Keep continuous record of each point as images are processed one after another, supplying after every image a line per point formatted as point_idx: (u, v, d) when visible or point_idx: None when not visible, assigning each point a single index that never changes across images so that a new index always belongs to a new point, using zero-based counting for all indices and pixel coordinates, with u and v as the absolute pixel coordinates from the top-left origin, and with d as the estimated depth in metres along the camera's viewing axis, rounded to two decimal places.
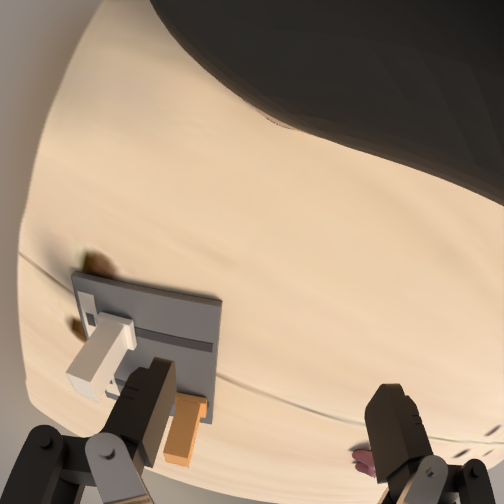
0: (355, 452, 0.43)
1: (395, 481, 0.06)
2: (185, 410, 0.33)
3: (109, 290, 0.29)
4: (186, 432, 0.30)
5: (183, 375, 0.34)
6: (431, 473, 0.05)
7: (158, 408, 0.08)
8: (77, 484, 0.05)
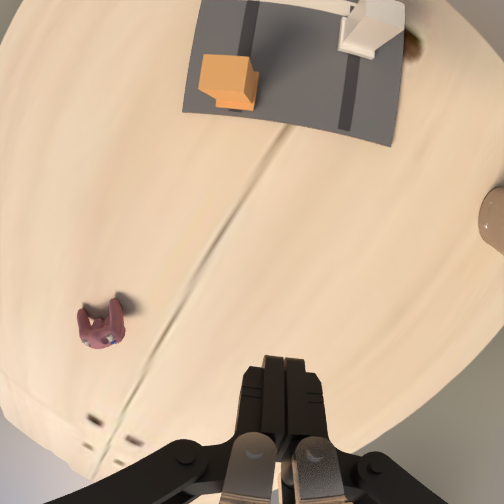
0: (117, 301, 0.40)
1: (284, 460, 0.07)
2: (253, 86, 0.25)
3: (397, 49, 0.24)
4: (248, 89, 0.22)
5: (293, 88, 0.27)
6: (309, 455, 0.06)
7: None
8: (188, 497, 0.06)
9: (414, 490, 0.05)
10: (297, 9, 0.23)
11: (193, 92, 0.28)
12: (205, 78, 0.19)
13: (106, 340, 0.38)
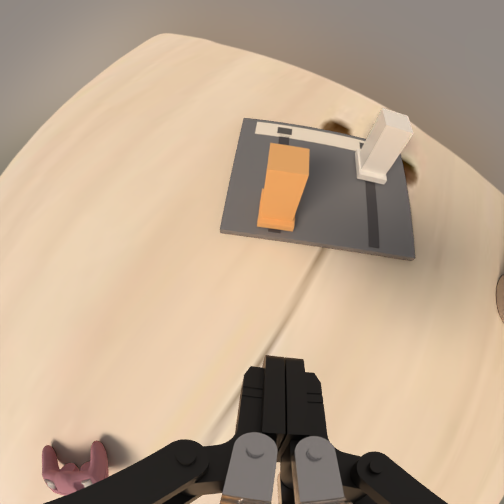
0: (102, 445, 0.23)
1: (283, 460, 0.07)
2: None
3: (400, 174, 0.36)
4: None
5: (325, 212, 0.33)
6: (309, 455, 0.06)
7: None
8: (188, 498, 0.06)
9: (413, 490, 0.05)
10: (320, 146, 0.37)
11: (232, 211, 0.33)
12: (273, 161, 0.23)
13: (81, 487, 0.17)
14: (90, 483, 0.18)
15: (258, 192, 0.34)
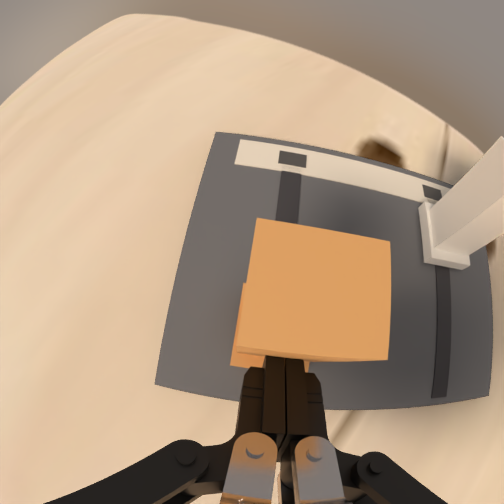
0: None
1: (283, 460, 0.07)
2: None
3: None
4: None
5: None
6: (309, 455, 0.06)
7: None
8: (188, 498, 0.06)
9: (413, 491, 0.05)
10: (359, 192, 0.19)
11: (178, 347, 0.15)
12: (264, 306, 0.06)
13: None
14: None
15: (233, 304, 0.16)
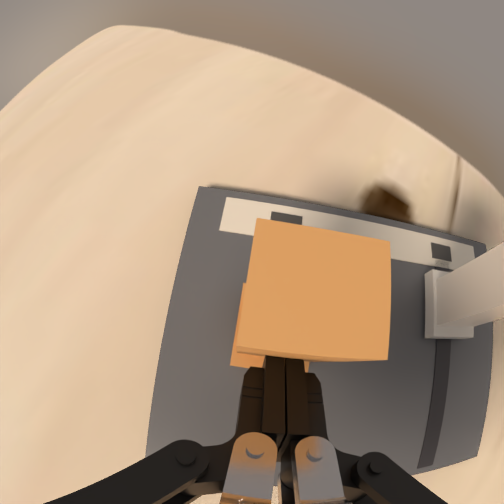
0: None
1: (283, 460, 0.07)
2: None
3: None
4: None
5: (355, 428, 0.14)
6: (309, 455, 0.06)
7: None
8: (188, 498, 0.06)
9: (413, 491, 0.05)
10: None
11: (165, 433, 0.13)
12: (264, 306, 0.06)
13: None
14: None
15: (218, 395, 0.14)
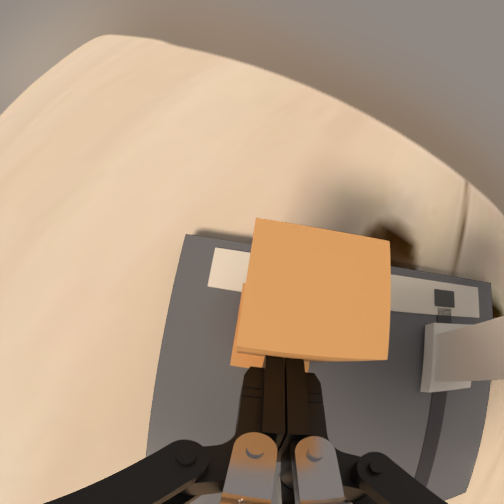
0: None
1: (283, 460, 0.07)
2: None
3: None
4: None
5: None
6: (309, 455, 0.06)
7: None
8: (188, 498, 0.06)
9: (413, 491, 0.05)
10: None
11: None
12: (263, 307, 0.06)
13: None
14: None
15: None
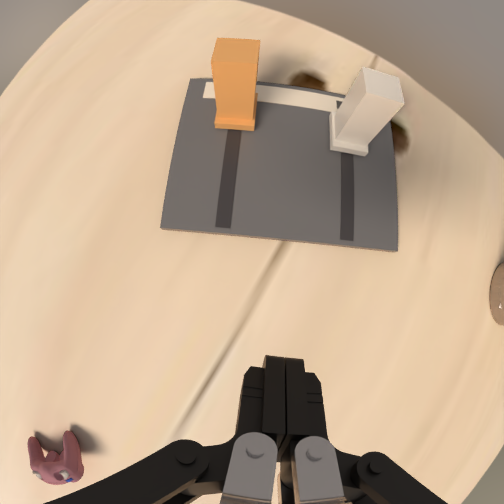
0: (72, 435, 0.24)
1: (283, 460, 0.07)
2: None
3: (387, 142, 0.29)
4: None
5: (287, 197, 0.27)
6: (309, 455, 0.06)
7: None
8: (188, 498, 0.06)
9: (413, 490, 0.05)
10: (284, 108, 0.28)
11: (173, 204, 0.27)
12: (218, 53, 0.18)
13: (60, 476, 0.19)
14: (66, 473, 0.19)
15: (204, 176, 0.27)
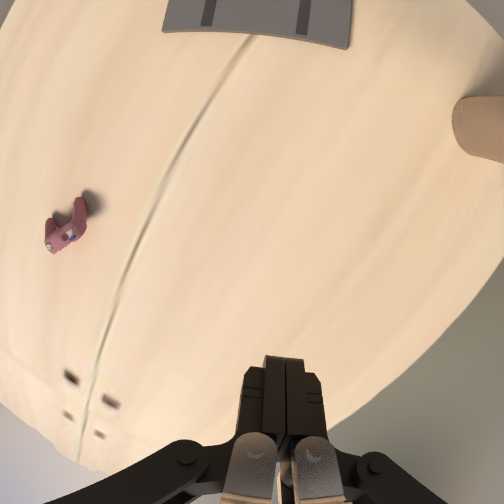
0: (82, 199, 0.38)
1: (283, 460, 0.07)
2: None
3: None
4: None
5: (254, 6, 0.26)
6: (309, 455, 0.06)
7: None
8: (188, 498, 0.06)
9: (413, 490, 0.05)
10: None
11: (171, 15, 0.27)
12: None
13: (66, 237, 0.36)
14: (71, 230, 0.36)
15: None
